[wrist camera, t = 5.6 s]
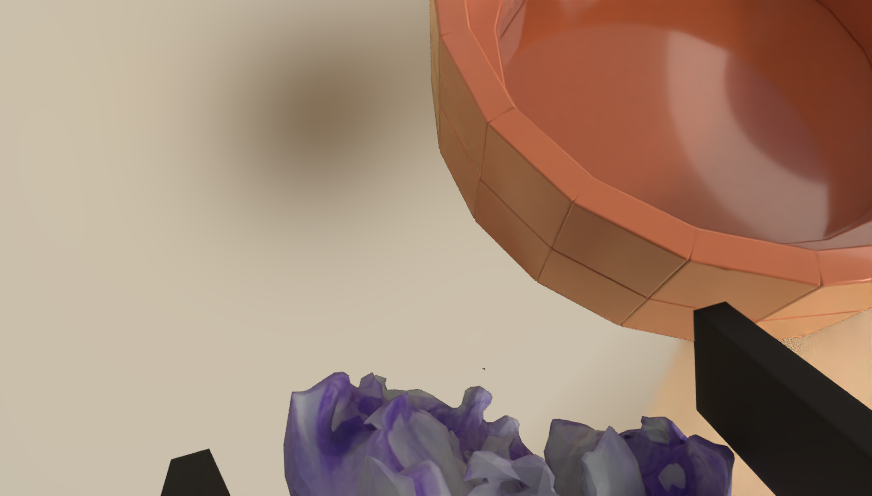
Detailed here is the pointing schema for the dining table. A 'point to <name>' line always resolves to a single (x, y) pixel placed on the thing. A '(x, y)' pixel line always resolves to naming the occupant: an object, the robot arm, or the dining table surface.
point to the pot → (667, 151)
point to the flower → (479, 450)
